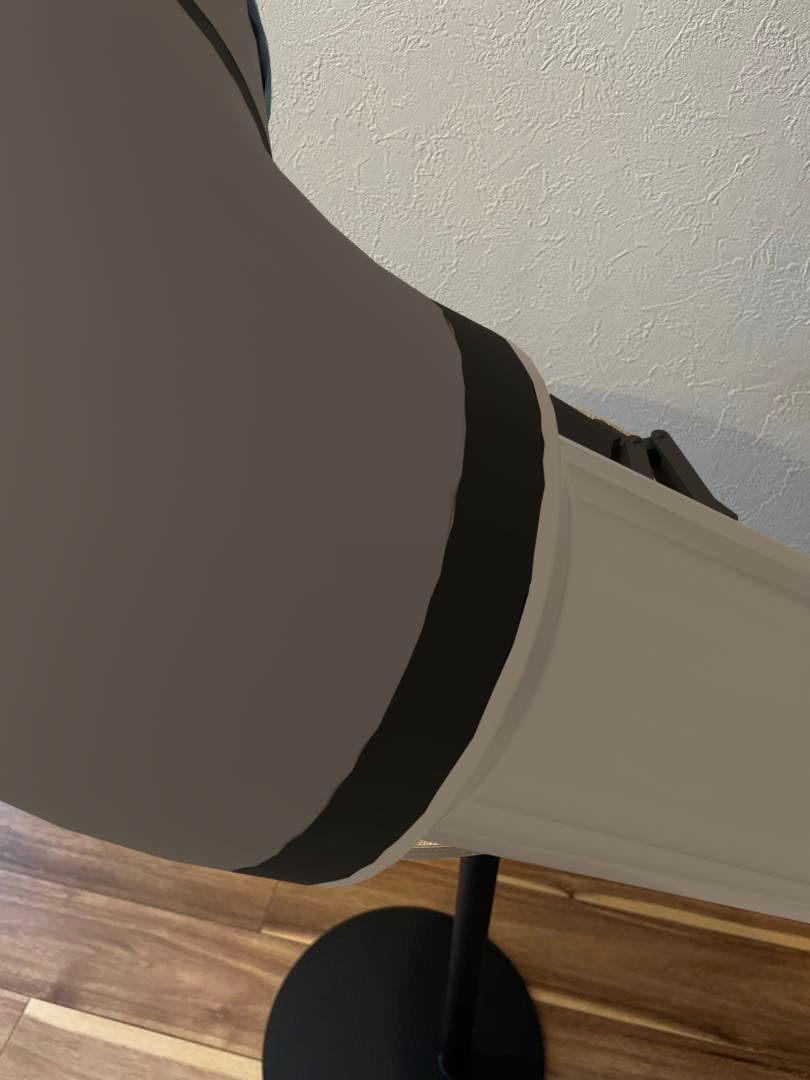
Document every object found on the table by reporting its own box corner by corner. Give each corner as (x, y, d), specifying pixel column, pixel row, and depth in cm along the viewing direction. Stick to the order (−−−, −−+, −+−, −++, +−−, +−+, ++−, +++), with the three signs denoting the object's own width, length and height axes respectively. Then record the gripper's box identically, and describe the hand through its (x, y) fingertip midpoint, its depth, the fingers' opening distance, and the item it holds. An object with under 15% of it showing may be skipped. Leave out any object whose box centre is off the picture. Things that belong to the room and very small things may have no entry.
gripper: (561, 795, 49) (321, 568, 61) (843, 581, 61) (593, 426, 73) (579, 700, 44) (313, 474, 56) (883, 487, 56) (607, 338, 68)
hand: (471, 447), depth 65 cm, fingers open, 13 cm apart
